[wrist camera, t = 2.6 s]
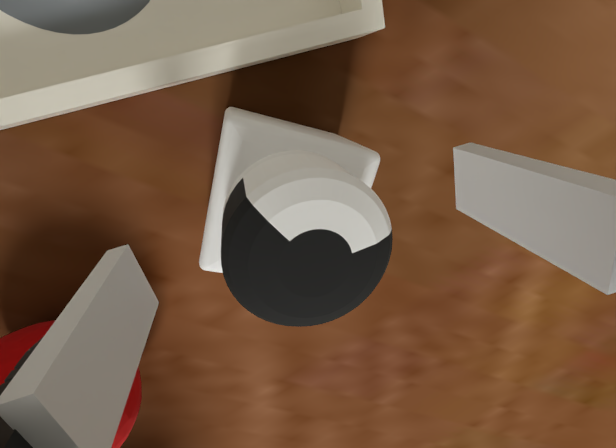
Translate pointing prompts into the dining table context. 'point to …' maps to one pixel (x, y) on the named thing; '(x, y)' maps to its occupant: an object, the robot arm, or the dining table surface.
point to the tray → (152, 45)
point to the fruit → (11, 348)
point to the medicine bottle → (294, 220)
